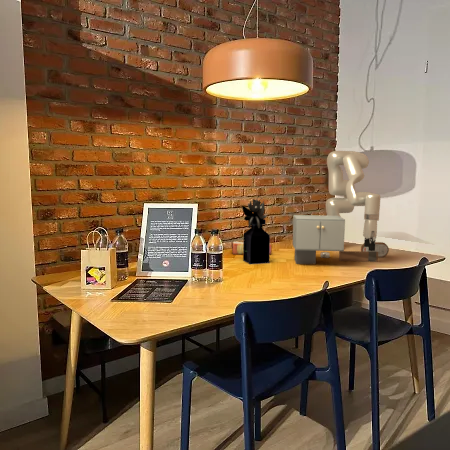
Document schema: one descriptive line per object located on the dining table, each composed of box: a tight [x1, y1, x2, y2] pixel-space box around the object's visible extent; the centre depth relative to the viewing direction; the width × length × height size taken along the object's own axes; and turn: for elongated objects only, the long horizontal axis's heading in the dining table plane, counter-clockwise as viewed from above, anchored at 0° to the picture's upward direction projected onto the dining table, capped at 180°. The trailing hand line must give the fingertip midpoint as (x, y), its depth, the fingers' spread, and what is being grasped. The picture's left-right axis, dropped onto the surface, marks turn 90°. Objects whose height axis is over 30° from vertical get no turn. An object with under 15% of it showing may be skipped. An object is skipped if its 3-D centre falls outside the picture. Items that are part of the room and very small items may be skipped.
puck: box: [320, 251, 331, 259], centre depth 242 cm, size 5×5×2 cm
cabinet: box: [292, 214, 346, 265], centre depth 225 cm, size 20×24×24 cm
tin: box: [360, 241, 390, 258], centre depth 244 cm, size 15×3×8 cm, turn 84°
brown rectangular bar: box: [338, 250, 379, 263], centre depth 232 cm, size 2×20×5 cm, turn 86°
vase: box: [241, 195, 271, 265], centre depth 225 cm, size 14×12×35 cm
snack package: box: [231, 241, 273, 256], centre depth 249 cm, size 23×7×7 cm, turn 90°
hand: (369, 248), depth 232 cm, fingers open, 9 cm apart
